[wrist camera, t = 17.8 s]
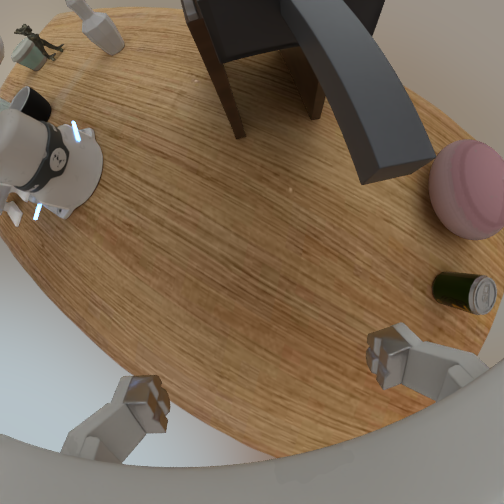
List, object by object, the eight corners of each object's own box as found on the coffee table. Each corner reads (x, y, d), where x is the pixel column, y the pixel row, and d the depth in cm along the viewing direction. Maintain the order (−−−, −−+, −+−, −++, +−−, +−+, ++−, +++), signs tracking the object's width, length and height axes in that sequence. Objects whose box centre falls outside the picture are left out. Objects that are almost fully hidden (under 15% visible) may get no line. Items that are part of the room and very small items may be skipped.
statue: (70, 48, 47) (32, 14, 27) (55, 64, 47) (15, 33, 28) (64, 45, 48) (28, 13, 28) (50, 62, 48) (12, 32, 28)
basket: (193, -16, 15) (175, -59, 9) (305, -36, 14) (305, -78, 8) (267, 221, 14) (257, 198, 8) (440, 178, 13) (500, 147, 7)
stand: (213, 62, 42) (168, -46, 15) (285, 45, 41) (280, -69, 14) (236, 139, 41) (183, 16, 15) (320, 118, 40) (349, -11, 13)
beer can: (432, 270, 38) (475, 275, 26) (455, 271, 37) (499, 275, 25) (429, 303, 38) (470, 317, 26) (452, 303, 37) (494, 315, 25)
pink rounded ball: (479, 242, 37) (535, 238, 22) (416, 242, 38) (471, 236, 23) (470, 161, 37) (519, 136, 22) (407, 152, 38) (451, 114, 23)
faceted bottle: (123, 35, 45) (80, -18, 23) (131, 45, 44) (85, -13, 22) (102, 51, 45) (55, 2, 23) (109, 61, 45) (57, 9, 23)
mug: (47, 97, 47) (24, 82, 37) (59, 107, 46) (33, 90, 36) (23, 135, 48) (-3, 124, 38) (33, 148, 47) (5, 137, 37)
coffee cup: (53, 48, 48) (32, 31, 36) (45, 67, 48) (22, 50, 36) (36, 60, 49) (15, 44, 37) (29, 79, 49) (6, 64, 37)
